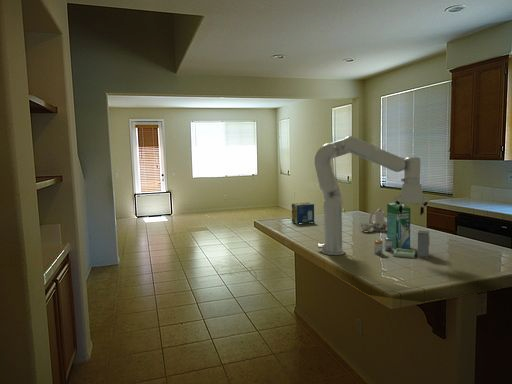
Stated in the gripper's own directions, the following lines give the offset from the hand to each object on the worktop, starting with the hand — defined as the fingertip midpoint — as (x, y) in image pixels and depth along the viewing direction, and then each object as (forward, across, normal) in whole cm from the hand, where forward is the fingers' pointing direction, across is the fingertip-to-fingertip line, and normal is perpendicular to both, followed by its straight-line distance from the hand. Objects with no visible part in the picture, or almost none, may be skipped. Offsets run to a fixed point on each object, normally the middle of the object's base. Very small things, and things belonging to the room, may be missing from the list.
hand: (411, 214), depth 197 cm
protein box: (+23, -86, +75) cm, 117 cm away
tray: (+22, -3, 0) cm, 22 cm away
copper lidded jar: (+22, -16, -2) cm, 27 cm away
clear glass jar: (+22, -12, +7) cm, 26 cm away
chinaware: (+22, -25, +60) cm, 68 cm away
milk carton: (+22, -8, +18) cm, 30 cm away
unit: (+22, +6, +1) cm, 23 cm away
